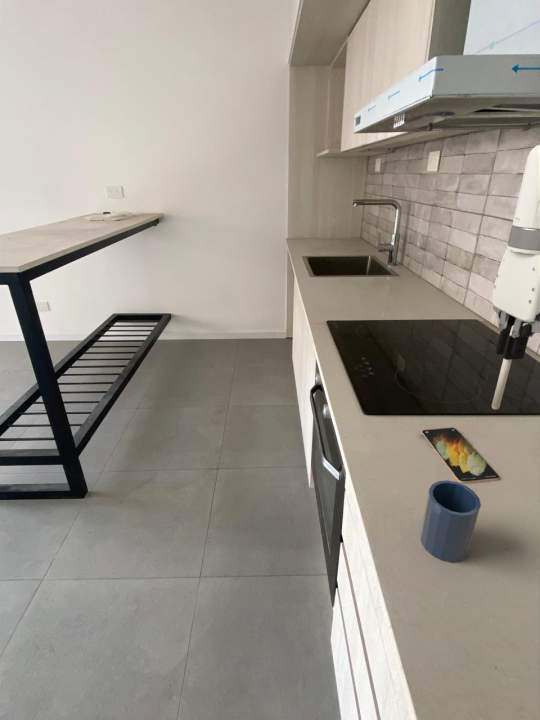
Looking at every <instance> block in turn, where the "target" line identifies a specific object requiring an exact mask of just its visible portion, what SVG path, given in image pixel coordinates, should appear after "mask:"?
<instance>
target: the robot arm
mask: <svg viewBox="0 0 540 720" xmlns="http://www.w3.org/2000/svg"><path fill="white" fill-rule="evenodd" d="M491 296H492V297H491V304H492V305H493V306H492V309H493V311H494V312H495V313H496V315H498V319H499V323H498V329H499V335H498V339H497V342H496V348H495V350H494V351H495V354H496V355H499V356H501V355H502V359H505V360H512V361H513V360H521V359H524V356H525V354H526V350H527V346H528V343H529V339H530V338H532V337H533V336H534V334H536V333H537V334H540V144H537V145H536V146H534V147H533V148H532V149H531V150H530V152H529V153H528V155H527V159H526V163H525V167H524V171H523V176H522V181H521V185H520V188H519V193H518V197H517V202H516V206H515V211H514V215H513V220H512V225H511V228H510V233H509V237H508V242H507V246H506V249H505V251H504V253H503V256H502V258H501V262H500V264H499V266H498V270H497V273H496V277H495V281H494V286H493V289H492V295H491ZM513 325H514V327H513V330H512V333H511V336H509V335H510V332H511V328H512V326H513Z"/></svg>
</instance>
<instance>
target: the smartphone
mask: <svg viewBox="0 0 540 720" xmlns="http://www.w3.org/2000/svg"><path fill="white" fill-rule="evenodd" d="M421 434H422V435H423V437H424V438H425V439H426V441H427V442H428V444H429V445H430V446H431V447H432V449H433V450H434V451H435V453H437V455H438V456H439V458H440V459H441V460H442V462H443V463H444V464H445V466H446V467H447V468H448V470H449V471H450V473H451V474H452V475H453V476H454V478H455V479H456V482H458V483H460V484H473V483H483V482H485V483H486V482H494V481H495V482H496V481H498V480H499V478H500V475H499V474H498V473H497V472H496V471H495V470H494V469H493V468H492V466H491V465H490V464H489V463H488V462H487V460H485V459H484V458H483V457H482V456H481V454H480V453H479V452H478V451H477V450H476V449H475V448H474V447H473V446H472V445H471V444H470V442H469V441H468V440H467V439H466V438H465V437H464V436H463V435H462V433H461V432H460V431H459V430H458V429H457V428H455V427H446V428H445V427H444V428H443V427H442V428H432V429H431V428H430V429H423V430H422V431H421Z"/></svg>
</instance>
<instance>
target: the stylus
mask: <svg viewBox="0 0 540 720" xmlns="http://www.w3.org/2000/svg"><path fill="white" fill-rule="evenodd" d="M513 327H514V325H513V326H512V328H511V332H510V335H509V336H511V333H512V330H513ZM502 359H503V360H502V363H501V366H500V370H499V374H498V379H497V383H496V386H495V391H494V395H493V397H492V403H491V409H492V410H493V411H498V410H499V409H500V407H501V403H502V399H503V395H504V392H505V388H506V383H507V382H508V381H507V380H508V376H509V372H510V369H511V366H512V361H513V359H512V360H505V359H504V358H502Z"/></svg>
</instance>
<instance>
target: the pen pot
mask: <svg viewBox="0 0 540 720" xmlns="http://www.w3.org/2000/svg"><path fill="white" fill-rule="evenodd" d="M480 499H481V498H480V497H479V496H478V494H477V493H476V492H475V491H474V489H473V490H472V488H470V487H469V486H467V485H465V484H464V483H460V482H458V481H453V480H447V479H446V480H438V481H435V482H434V483H432V484H431V485H430V487H429V489H428V492H427V498H426V503H425V507H424V514H423V520H422V524H421V530H420V542H421V545H422V546H423V548H424V549H425V551H426V552H428V553H429V554H430V555H431V556H432V557H434V558H435V559H437V560H440V561H443V562H445V563H458V562H461V561H464V560H465V559H466V558H467V556H468V554H469V552H470V548H471V545H472V541H473V537H474V533H475V529H476V525H477V522H478V519H479V515H480V511H481V507H482V504H481V500H480Z"/></svg>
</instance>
